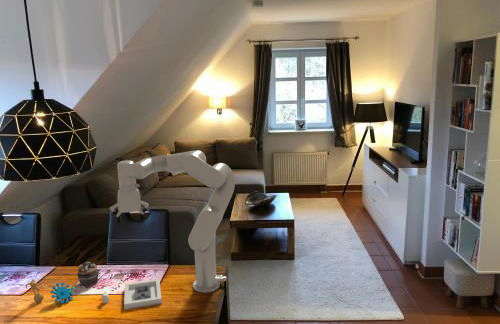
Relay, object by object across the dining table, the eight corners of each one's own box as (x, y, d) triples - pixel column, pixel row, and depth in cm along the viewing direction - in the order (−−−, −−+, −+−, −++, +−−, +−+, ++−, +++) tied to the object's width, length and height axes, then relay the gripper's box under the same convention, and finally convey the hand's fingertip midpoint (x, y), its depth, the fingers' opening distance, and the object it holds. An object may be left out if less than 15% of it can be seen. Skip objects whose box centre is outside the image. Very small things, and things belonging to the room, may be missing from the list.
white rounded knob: (109, 299, 179) (108, 291, 178) (108, 303, 176) (108, 295, 175) (102, 300, 178) (101, 292, 177) (102, 304, 175) (101, 296, 174)
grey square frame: (150, 289, 185) (150, 284, 184) (151, 299, 177) (150, 294, 177) (135, 291, 183) (134, 286, 183) (135, 301, 175) (134, 296, 175)
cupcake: (73, 285, 191) (71, 266, 189) (88, 276, 200) (86, 257, 197) (89, 289, 187) (86, 270, 185) (104, 279, 196) (101, 260, 194)
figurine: (50, 299, 180) (47, 274, 177) (43, 307, 174) (39, 281, 171) (33, 298, 180) (29, 274, 178) (24, 306, 174) (20, 281, 172)
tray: (159, 283, 191) (159, 278, 191) (161, 303, 175) (161, 298, 174) (125, 288, 187) (125, 283, 187) (124, 309, 171) (124, 304, 170)
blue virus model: (58, 305, 172) (47, 285, 174) (52, 312, 174) (42, 292, 177) (80, 296, 181) (70, 277, 184) (74, 303, 184) (64, 284, 186)
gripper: (147, 183, 189) (149, 218, 192) (108, 187, 184) (111, 222, 188) (147, 188, 182) (150, 223, 185) (107, 191, 177) (111, 227, 181)
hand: (131, 222), depth 187 cm, fingers open, 9 cm apart
